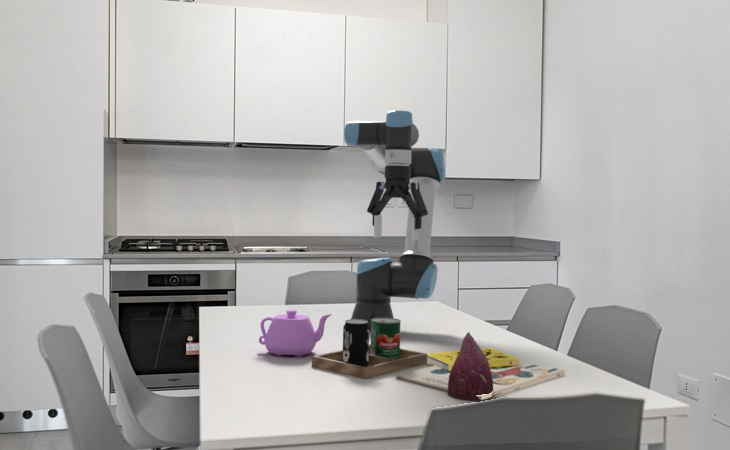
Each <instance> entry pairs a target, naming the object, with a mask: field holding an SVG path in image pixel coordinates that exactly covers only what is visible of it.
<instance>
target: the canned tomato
mask: <svg viewBox="0 0 730 450" xmlns="http://www.w3.org/2000/svg"><path fill="white" fill-rule="evenodd" d="M401 321H402V320H401V319H398V318H373V319H371V330H370V344H371V347H370V348H371V350H370V354H371V355H376V356H381V357H385V358H390V359H395V360H397V359H400V348H401Z"/></svg>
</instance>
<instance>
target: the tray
mask: <svg viewBox="0 0 730 450" xmlns="http://www.w3.org/2000/svg"><path fill="white" fill-rule="evenodd" d="M370 347H371V343H369V358H368V367H363V366H358V365H354V364H349V363H345V362H342V356H343V349H341V350H337V351H331V352H326V353H321V354H316V355H311V367H314V368H319V369H322V370H327V371H330V372H334V373H339V374H343V375H348V376H351V377H356V378H360V379H364V380H368V379H370V378H371V379H372V378H374V377H379V376H383V375H385V374H390V373H394V372H397V371H403V370H405V369H409V368H413V367H418V366H421V365H426V364H428V353H425V352H420V351H416V350H410V349H405V348H401V347H400V358H399V359H397V360H395V359H390V358H385V357H381V356H376V355H371V354H370V350H371V348H370Z"/></svg>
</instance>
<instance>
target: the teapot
mask: <svg viewBox="0 0 730 450" xmlns="http://www.w3.org/2000/svg"><path fill="white" fill-rule="evenodd" d="M285 313H286V314H277V315H275V316H274V317H271V316H267V317H264V318H263V319H262V320H261V321H260V330H261V334H262V335H261V336H260V337H258V343H259V344H260V345H262V346H264V345H265V348H266V350H267V351H268V353H269V354H274V356H278V357H279V356H283V355H285V356H286V355H287V356H294V357H303V356H304V355H309V354H310V353H312V352H313V350H314V349H315V347H316V344H317V343H318V342H320V341H321V339H322V338H323V336H324V333H325V324H326V321H327V319H328V318H329V317H331V316H332V315H333V314H332V313H331V314H324V315H322V316H321V317H320V319H319V323H318V327H317V329H316V330H315V329H314V327H313V324H312V322H311V319H310V317H309V316H308V315H303V314H302V315H301V314H297V310H295V309H289V310H286V312H285ZM266 321H270V324H269V326H268V329H267V332H266V328H265V322H266ZM263 339H264V340H263Z"/></svg>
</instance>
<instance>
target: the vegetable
mask: <svg viewBox="0 0 730 450" xmlns="http://www.w3.org/2000/svg"><path fill="white" fill-rule="evenodd" d="M493 383H494V379H493V375H492V371H491V367H490V363H489V360H488V358H487V356H486V354H485V353H484V351H483V350H482V348H481V347H480V345H478V343H477V341H476V340H475V339H474V337H473V336H472V335H471V333H470V331H469V332H467V333H466V334H465V336H463V339H462V342H461V346H460V349H459V352H458V355H457V356H456V358H455V361H454V363H453V365H452V366H451V369H450V371H449V376H448V383H447V395H448V396H449V397H452V398H454V399H458V400H463V401H468V402H474V401H473V400H476V401H475V402H482V401H481V400H480V399H479V397H477V396H476V395H482V394H489V393H491V392H492V391H493V392H494V384H493Z"/></svg>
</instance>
